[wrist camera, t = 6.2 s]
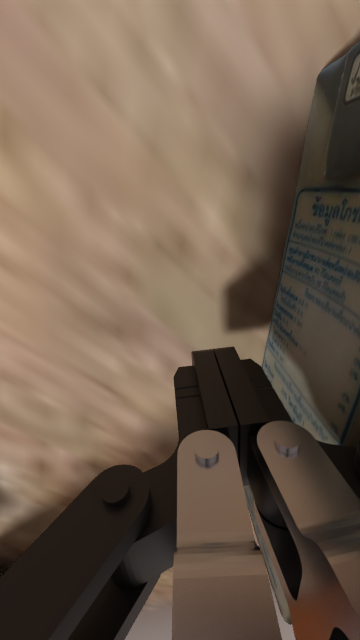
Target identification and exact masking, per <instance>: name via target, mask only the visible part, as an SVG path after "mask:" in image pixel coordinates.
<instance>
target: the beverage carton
mask: <svg viewBox="0 0 360 640" xmlns="http://www.w3.org/2000/svg"><path fill="white" fill-rule="evenodd" d="M262 369H263V371H264V372H265V374H266V376H267V379H269V381H270V383H271V384H272V388H274V390H275V391H276V393H277V395H278V397H279V398H280V400H281V402H282V404H283V405H284V407H285V409H286V411H287V412H288V414H289V416H290V418H291V419H292V421H293V423H295V424H297V425H300V426H301V427H303V428H305V429H306V430H307V431H309V432H310V433H311V434H312V435H313V437H314V438H315V439H316V440H318V441H321V442H324V443H328V444H334V445H341V446H348V447H354V448H357V446H358V443H359V441H360V41H359V42H358V43H357V44H355V45H354V46H353V47H352V48H351V49H350V50H349V51H348V53H347V54H346V55H344V56H343V57H341V58H339V59H338V60H336V61H335V62H333V63H331V64H330V65H328V66H327V67H325V68H324V69H323V70H322V71H321V72H320V74H319V75H318V77H317V82H316V87H315V93H314V98H313V103H312V108H311V113H310V118H309V122H308V127H307V132H306V137H305V144H304V150H303V156H302V161H301V167H300V172H299V177H298V183H297V188H296V193H295V199H294V204H293V209H292V214H291V219H290V224H289V229H288V234H287V238H286V243H285V248H284V253H283V259H282V265H281V271H280V276H279V282H278V287H277V291H276V297H275V302H274V308H273V313H272V319H271V324H270V329H269V334H268V339H267V343H266V348H265V353H264V359H263V364H262ZM243 487H244V492H245V497H246V502H247V506H248V510H249V513H250V516H251V520H252V523H253V527H254V530H255V533H256V537H257V540H258V543H259V545H260V548H261V552H262V555H263V559H264V562H265V566H266V569H267V572H268V575H269V578H270V582H271V585H272V588H273V590H274V593H275V596H276V599H277V603H278V606H279V609H280V612H281V615H282V616H283V618H284V620H285V621H286V622H287V623H288V624H292V620H291V615H290V611H289V607H288V604H287V601H286V598H285V595H284V592H283V590H282V587H281V584H280V582H279V579H278V576H277V574H276V571H275V568H274V566H273V563H272V560H271V558H270V555H269V552H268V549H267V547H266V544H265V541H264V539H263V536H262V533H261V531H260V528H259V525H258V523H257V520H256V517H255V514H254V496H253V493H252V490H251V487H250V485H247V486H243Z"/></svg>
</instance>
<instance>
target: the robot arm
mask: <svg viewBox="0 0 360 640" xmlns="http://www.w3.org/2000/svg"><path fill="white" fill-rule="evenodd" d="M174 387H175V398H176V409H177V420H178V430H179V442H178V446H177V449H176V450H175V452H174V453H173V455H172V456H171V457H170V458H169V459H168V460H167V461H165V462H164V463H163V464H161V465H159V466H157V467H155V468H152V469H150V470H148V471H146V472H144V473H143V472H142V471H141V470H140V469H138V468H136V467H134V466H131V465H117V466H113V467H111V468H108V469H106V470H105V471H103V472H102V473H100V474H99V475H98V476H97V477H96V478H95V479H94V480H93V481H92V482H91V483H90V484H89V485H88V486H87V487H86V488H85V489H84V490H83V491H82V492H81V493H80V494H79V495H78V497H77V498H76V499H75V500H74V501H73V502H72V503H71V504H70V505H69V506H68V507H67V508H66V509H65V510H64V511H63V512H62V513H61V514H60V516H59V517H58V518H57V519H56V520H55V521H54V522H53V523H52V524H51V525H50V526H49V527H48V528H47V529H46V530H45V531H44V532H43V533H42V535H41V536H40V537H39V538H38V539H37V540H36V541H35V542H34V543H33V544H32V545H31V546H30V547H29V548H28V549H27V550H26V551H25V552H24V554H23V555H22V556H21V557H20V558H19V559H18V560H17V561H16V562H15V563H14V564H13V565H12V566H11V567H10V568H9V569H8V570H7V571H6V572H5V574H4V575H3V576H2V577H1V578H0V640H124V639H125V638H126V636H127V634H128V632H129V630H130V629H131V627H132V625H133V623H134V622H135V620H136V618H137V616H138V615H139V613H140V611H141V609H142V608H143V606H144V604H145V602H146V601H147V599H148V597H149V595H150V594H151V592H152V590H153V588H154V586H155V585H156V583H157V581H158V579H159V577H160V575H161V573H162V572H164V571H166V570H167V569H169V568H171V567H173V606H172V640H282V637H281V633H280V628H279V624H278V619H277V615H276V610H275V606H274V601H273V597H272V592H271V588H270V583H269V579H268V574H267V570H266V566H265V562H264V559H263V555H262V552H261V550H260V547H259V546H257V545H256V542H255V539H254V535H253V530H252V526H251V521H250V516H249V511H248V506H247V502H246V497H245V492H244V487H243V486H247V485H250V487H251V490H252V493H253V496H254V514H255V517H256V520H257V523H258V525H259V528H260V531H261V533H262V536H263V539H264V541H265V544H266V547H267V549H268V552H269V555H270V558H271V560H272V563H273V566H274V568H275V571H276V574H277V576H278V579H279V582H280V584H281V587H282V590H283V592H284V595H285V598H286V601H287V604H288V607H289V611H290V615H291V620H292V626H293V631H294V636H295V639H296V640H360V441H359V443H358V446H357V448H354V447H348V446H341V445H334V444H328V443H324V442H321V441H318V440H316V439H315V438H314V437H313V435H312V434H311V433H310V432H309V431H307V430H306V429H305V428H303V427H301V426H300V425H297V424H295V423H293V421H292V419H291V418H290V416H289V414H288V412H287V411H286V409H285V407H284V405H283V404H282V402H281V400H280V398H279V397H278V395H277V393H276V391H275V390H274V388H272V384H271V383H270V381H269V379H267V376H266V374H265V372H264V371H263V369H262V367H261V366H260V365H258V364H257V363H255V362H254V361H253V360H251V359H245V360H240V358H239V356H238V354H237V352H236V350H235V348H234V347H226V348H217V349H213V350H212V349H209V350H200V351H192V366H186V367H179V368H178V370H177V372H176V374H175V375H174Z"/></svg>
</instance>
